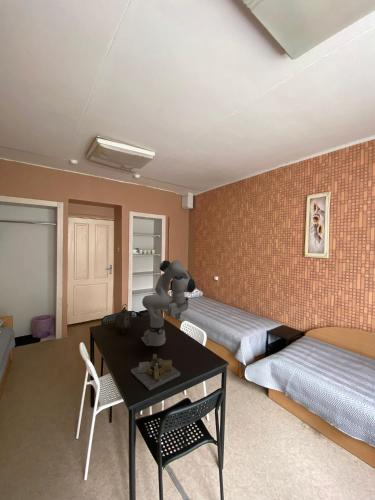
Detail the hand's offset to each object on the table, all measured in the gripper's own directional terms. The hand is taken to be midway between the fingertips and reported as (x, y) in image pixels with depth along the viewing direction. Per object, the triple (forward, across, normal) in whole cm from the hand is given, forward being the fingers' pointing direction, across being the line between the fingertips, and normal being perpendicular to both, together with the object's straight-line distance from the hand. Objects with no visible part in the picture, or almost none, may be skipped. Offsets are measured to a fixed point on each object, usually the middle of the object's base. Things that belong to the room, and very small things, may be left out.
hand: (177, 319), depth 149 cm
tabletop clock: (+30, +13, +73) cm, 80 cm away
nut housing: (+29, -21, +1) cm, 36 cm away
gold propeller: (+27, -21, +1) cm, 34 cm away
